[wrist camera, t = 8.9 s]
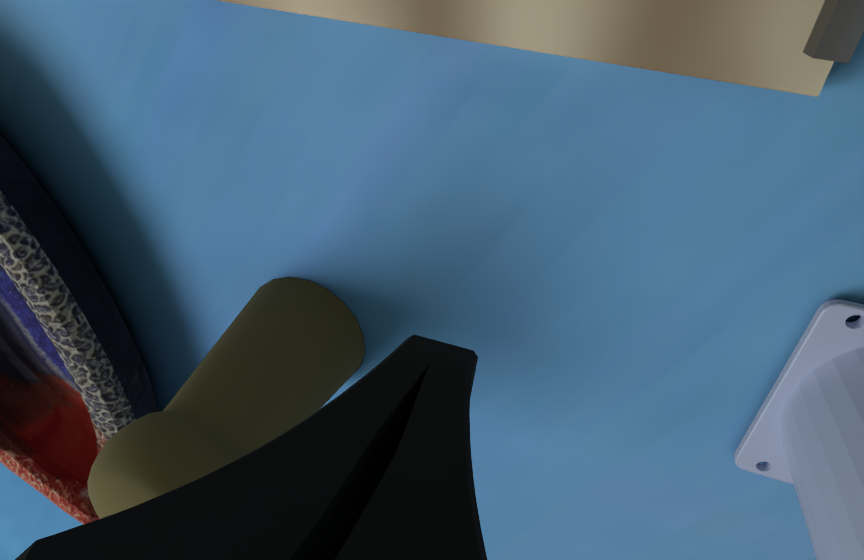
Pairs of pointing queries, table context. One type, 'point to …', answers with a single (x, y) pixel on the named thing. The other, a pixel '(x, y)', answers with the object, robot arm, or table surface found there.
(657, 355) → the table surface
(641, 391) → the table surface
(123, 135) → the table surface
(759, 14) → the rail board
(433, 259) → the table surface
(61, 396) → the dish
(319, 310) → the cork
